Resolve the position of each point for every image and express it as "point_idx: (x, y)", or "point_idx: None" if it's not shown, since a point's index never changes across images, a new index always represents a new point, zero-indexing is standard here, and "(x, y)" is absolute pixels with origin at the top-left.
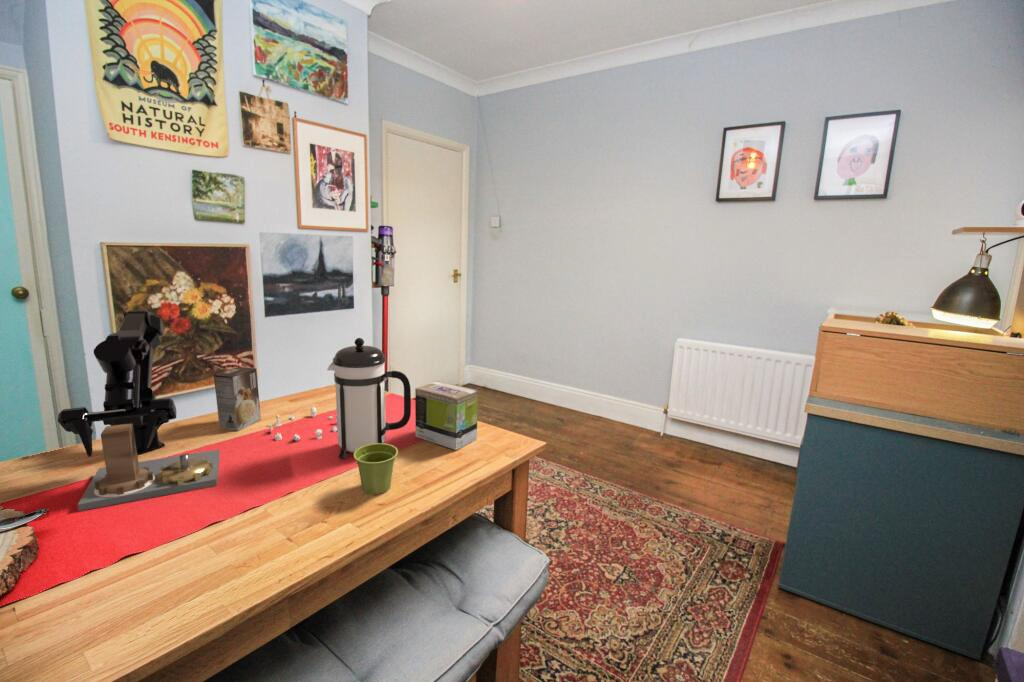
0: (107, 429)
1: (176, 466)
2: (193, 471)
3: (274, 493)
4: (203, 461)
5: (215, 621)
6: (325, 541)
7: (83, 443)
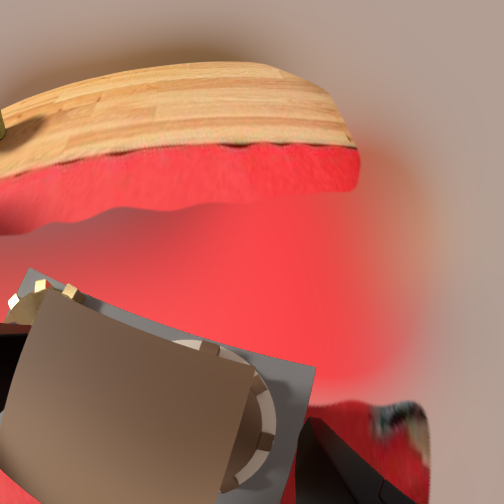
0: (179, 485)
1: None
2: (37, 306)
3: (25, 184)
4: None
5: (201, 63)
6: (87, 89)
7: (359, 457)
